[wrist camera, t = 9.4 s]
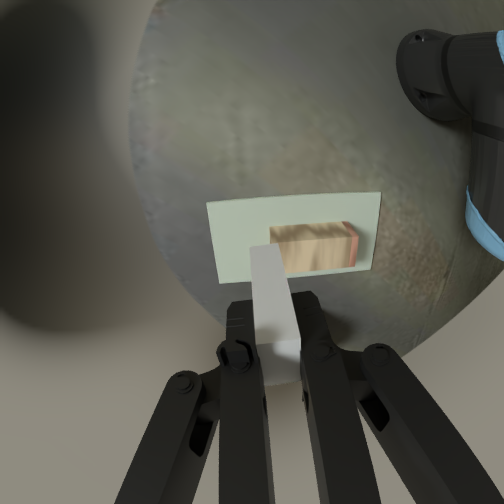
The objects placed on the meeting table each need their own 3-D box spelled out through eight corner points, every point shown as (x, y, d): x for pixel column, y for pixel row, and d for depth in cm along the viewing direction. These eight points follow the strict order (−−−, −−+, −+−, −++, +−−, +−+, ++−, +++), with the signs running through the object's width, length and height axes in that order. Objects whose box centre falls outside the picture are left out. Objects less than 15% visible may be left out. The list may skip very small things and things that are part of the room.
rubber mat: (380, 191, 38) (381, 192, 38) (369, 268, 45) (370, 269, 45) (206, 202, 39) (206, 203, 38) (219, 282, 46) (219, 283, 45)
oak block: (269, 226, 40) (347, 221, 40) (270, 255, 43) (344, 249, 43) (272, 243, 36) (358, 236, 36) (273, 274, 39) (354, 266, 39)
